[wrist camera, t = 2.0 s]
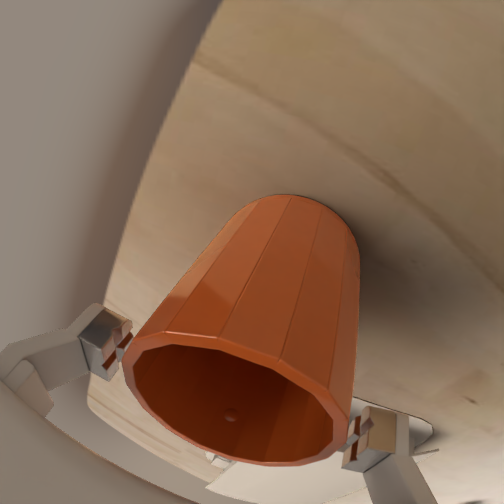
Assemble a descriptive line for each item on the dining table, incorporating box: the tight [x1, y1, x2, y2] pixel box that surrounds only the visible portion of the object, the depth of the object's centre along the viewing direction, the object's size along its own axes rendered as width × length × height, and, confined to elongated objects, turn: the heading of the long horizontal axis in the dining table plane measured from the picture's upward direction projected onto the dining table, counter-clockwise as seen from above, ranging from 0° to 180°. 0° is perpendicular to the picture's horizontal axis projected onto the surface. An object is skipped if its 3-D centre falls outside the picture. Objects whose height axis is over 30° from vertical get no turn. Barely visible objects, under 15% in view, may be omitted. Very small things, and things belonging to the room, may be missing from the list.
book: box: [205, 397, 439, 504], centre depth 23 cm, size 15×23×4 cm, turn 161°
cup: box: [121, 195, 360, 467], centre depth 12 cm, size 10×7×8 cm, turn 168°
